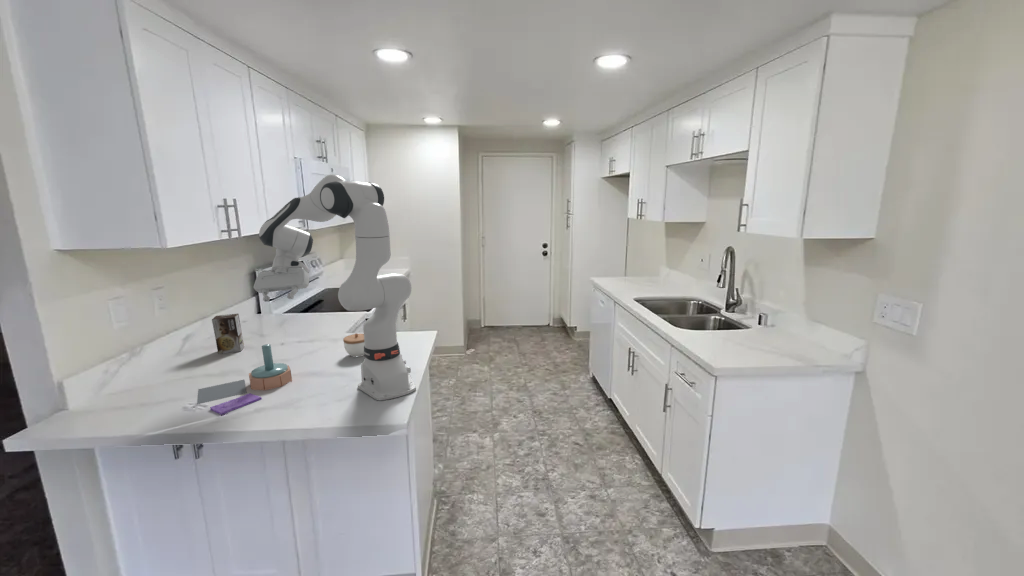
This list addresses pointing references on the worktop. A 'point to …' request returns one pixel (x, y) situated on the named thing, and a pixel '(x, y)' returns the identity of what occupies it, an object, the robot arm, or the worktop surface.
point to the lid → (268, 365)
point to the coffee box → (228, 333)
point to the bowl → (270, 381)
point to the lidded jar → (354, 344)
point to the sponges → (235, 403)
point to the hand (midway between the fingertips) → (278, 299)
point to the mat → (221, 391)
